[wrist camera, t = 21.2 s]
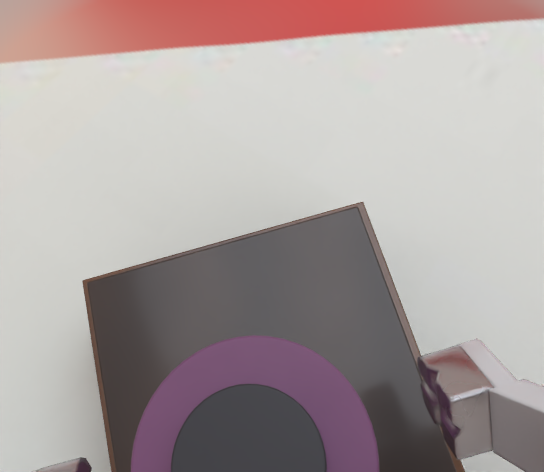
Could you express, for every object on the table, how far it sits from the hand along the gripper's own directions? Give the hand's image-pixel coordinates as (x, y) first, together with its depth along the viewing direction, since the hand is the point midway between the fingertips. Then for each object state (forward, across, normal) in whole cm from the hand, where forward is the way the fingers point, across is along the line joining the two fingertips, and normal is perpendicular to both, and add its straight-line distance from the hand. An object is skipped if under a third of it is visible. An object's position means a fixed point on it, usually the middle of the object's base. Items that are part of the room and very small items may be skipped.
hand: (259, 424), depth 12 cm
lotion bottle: (+4, 0, +4) cm, 6 cm away
